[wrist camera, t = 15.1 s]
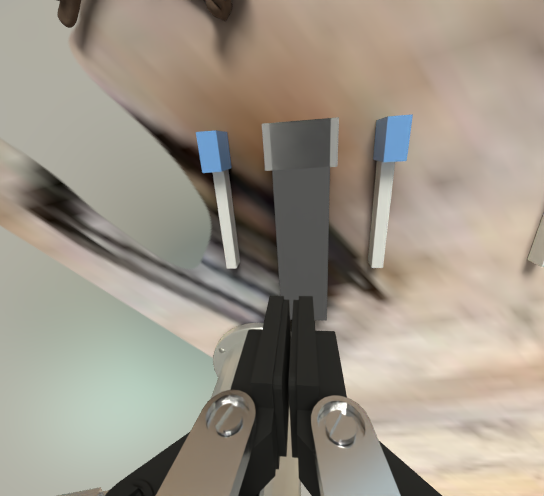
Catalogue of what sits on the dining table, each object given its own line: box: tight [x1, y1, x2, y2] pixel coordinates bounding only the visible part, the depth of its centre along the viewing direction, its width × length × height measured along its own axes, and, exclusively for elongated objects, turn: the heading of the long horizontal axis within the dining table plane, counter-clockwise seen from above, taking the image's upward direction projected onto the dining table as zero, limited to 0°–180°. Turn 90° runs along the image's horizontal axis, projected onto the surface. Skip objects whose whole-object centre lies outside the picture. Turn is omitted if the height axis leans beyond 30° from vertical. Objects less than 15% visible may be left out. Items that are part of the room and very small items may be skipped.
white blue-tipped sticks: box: [196, 115, 544, 268], centre depth 21 cm, size 12×29×3 cm, turn 93°
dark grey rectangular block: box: [262, 117, 339, 320], centre depth 22 cm, size 16×5×5 cm, turn 3°
